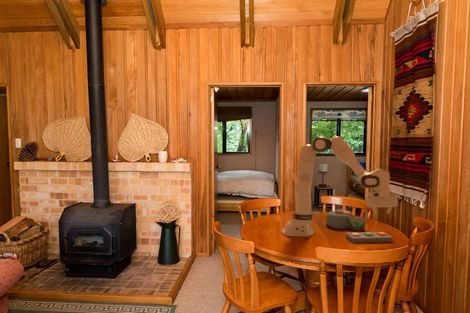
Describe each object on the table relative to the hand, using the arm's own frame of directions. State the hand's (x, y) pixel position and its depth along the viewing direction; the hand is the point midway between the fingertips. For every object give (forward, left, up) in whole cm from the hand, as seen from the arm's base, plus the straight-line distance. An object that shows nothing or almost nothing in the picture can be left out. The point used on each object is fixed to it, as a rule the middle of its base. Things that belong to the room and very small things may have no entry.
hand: (382, 213), depth 196 cm
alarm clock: (-15, +34, -18) cm, 41 cm away
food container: (-7, +20, -17) cm, 27 cm away
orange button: (0, 0, -15) cm, 15 cm away
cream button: (-18, 0, -15) cm, 23 cm away
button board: (-9, 0, -17) cm, 19 cm away
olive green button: (-9, 0, -15) cm, 17 cm away
